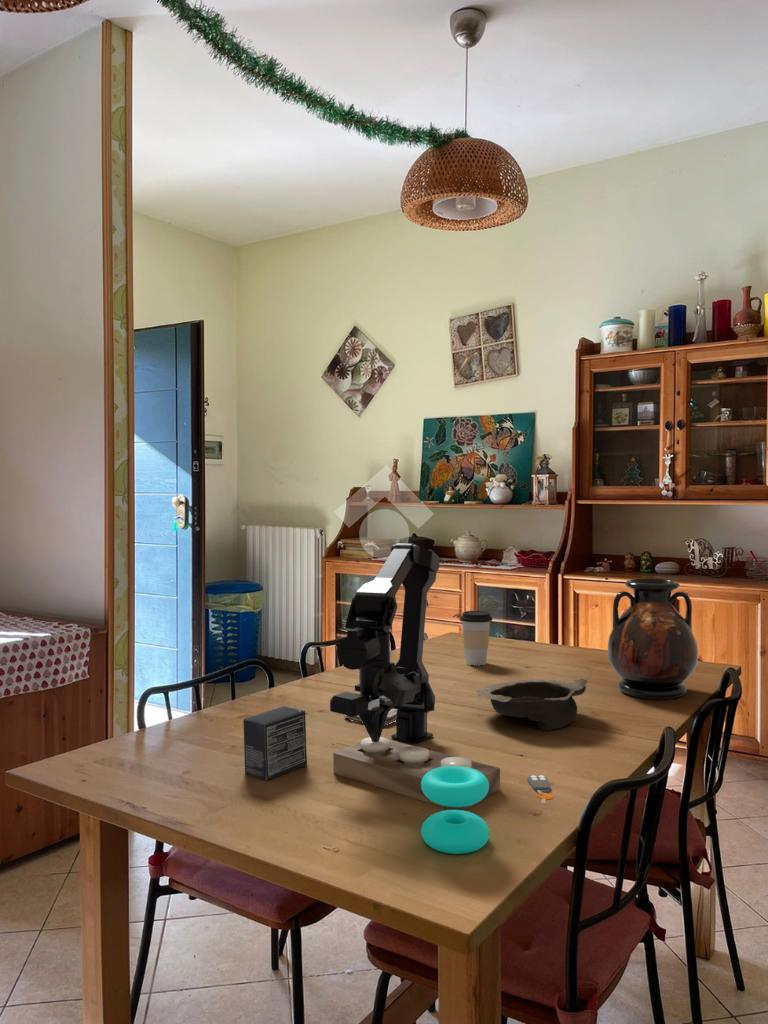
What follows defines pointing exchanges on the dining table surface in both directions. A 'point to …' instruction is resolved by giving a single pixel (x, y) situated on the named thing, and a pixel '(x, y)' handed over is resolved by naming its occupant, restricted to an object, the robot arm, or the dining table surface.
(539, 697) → the stone bowl
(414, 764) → the knob middle
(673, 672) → the amphora vase
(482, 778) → the donuts
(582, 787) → the dining table surface
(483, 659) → the coffee cup
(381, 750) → the knob
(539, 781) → the key chain
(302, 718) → the small box
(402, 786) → the mount
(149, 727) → the dining table surface
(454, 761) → the knob
